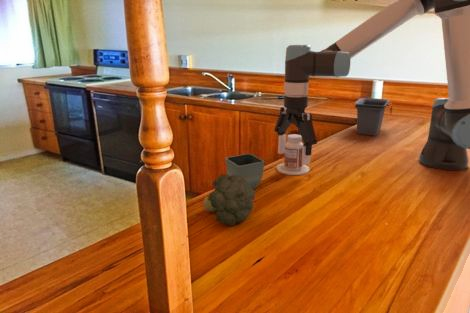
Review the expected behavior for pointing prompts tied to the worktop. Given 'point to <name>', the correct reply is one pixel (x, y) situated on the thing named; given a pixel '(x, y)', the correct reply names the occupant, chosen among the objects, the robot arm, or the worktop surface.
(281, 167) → the coaster
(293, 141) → the pill bottle
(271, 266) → the worktop surface
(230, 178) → the vegetable
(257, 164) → the flower pot
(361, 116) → the storage bin
